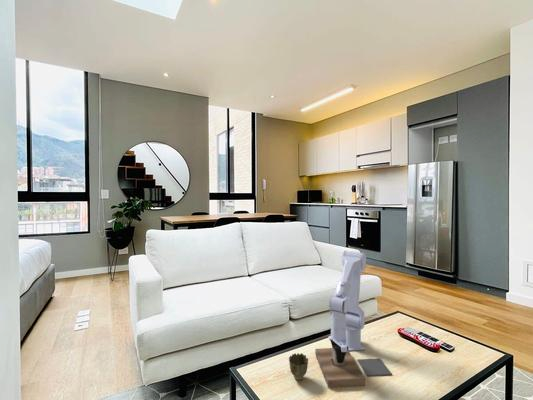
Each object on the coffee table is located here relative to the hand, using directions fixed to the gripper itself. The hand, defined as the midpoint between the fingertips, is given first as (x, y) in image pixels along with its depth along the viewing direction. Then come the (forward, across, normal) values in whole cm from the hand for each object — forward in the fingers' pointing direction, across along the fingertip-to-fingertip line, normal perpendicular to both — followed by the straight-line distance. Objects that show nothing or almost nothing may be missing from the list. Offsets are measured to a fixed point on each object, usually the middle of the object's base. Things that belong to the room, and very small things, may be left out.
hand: (338, 358), depth 115 cm
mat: (+4, 0, +15) cm, 16 cm away
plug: (+4, 0, 0) cm, 4 cm away
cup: (+5, +4, -17) cm, 18 cm away
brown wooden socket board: (+4, 0, 0) cm, 5 cm away
